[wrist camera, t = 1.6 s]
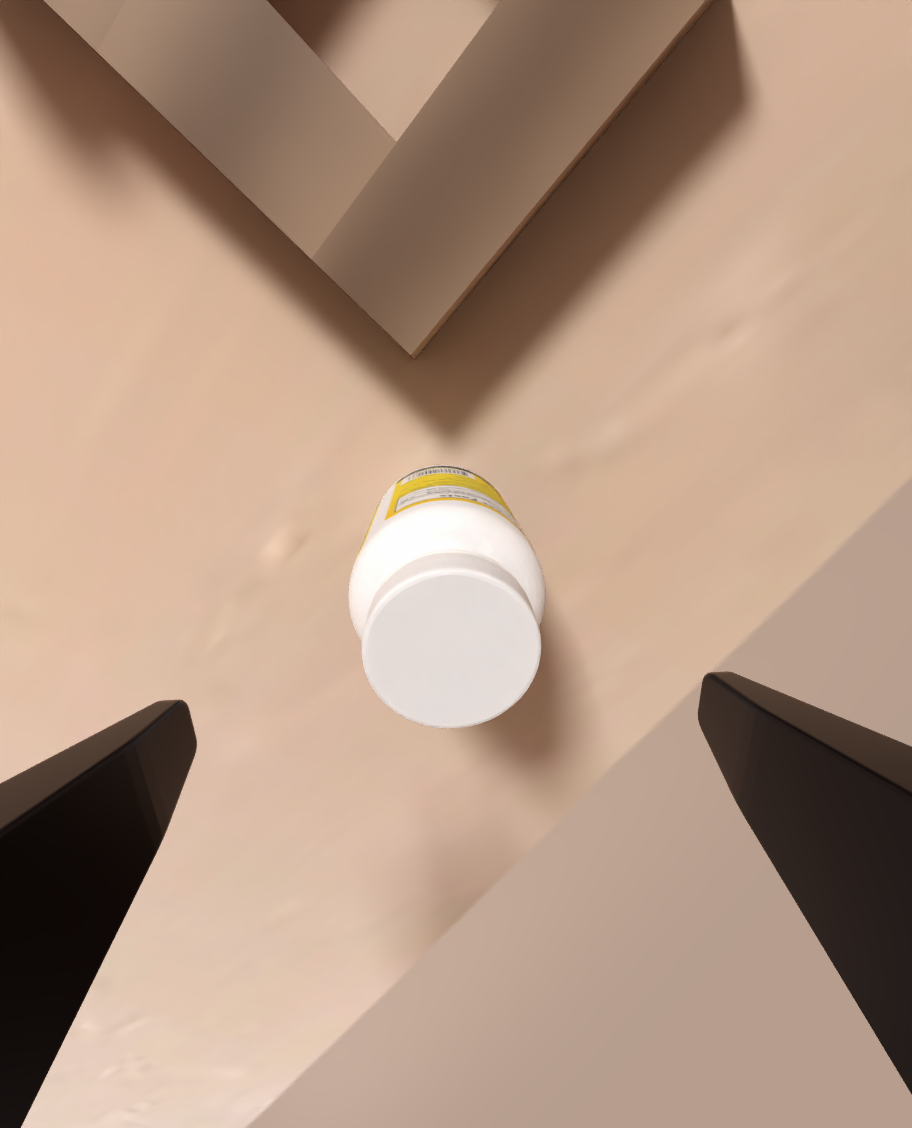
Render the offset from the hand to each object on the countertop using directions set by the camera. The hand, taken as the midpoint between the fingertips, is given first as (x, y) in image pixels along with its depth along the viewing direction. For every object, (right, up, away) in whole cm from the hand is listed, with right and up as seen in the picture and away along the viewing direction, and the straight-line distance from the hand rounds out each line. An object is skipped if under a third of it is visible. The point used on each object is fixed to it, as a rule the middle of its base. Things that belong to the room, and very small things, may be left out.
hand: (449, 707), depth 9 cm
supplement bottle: (0, +4, +12) cm, 12 cm away
